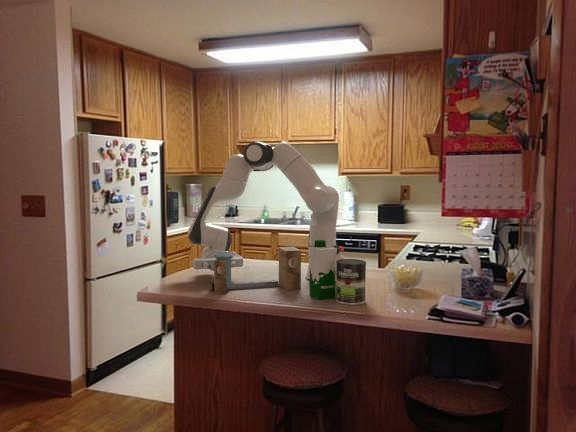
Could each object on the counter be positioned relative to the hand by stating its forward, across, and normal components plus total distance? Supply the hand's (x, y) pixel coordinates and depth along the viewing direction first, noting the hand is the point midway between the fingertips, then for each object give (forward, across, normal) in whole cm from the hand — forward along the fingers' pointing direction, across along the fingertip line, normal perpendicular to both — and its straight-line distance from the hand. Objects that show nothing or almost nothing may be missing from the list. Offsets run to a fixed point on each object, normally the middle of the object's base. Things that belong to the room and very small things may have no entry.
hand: (221, 266), depth 192 cm
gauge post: (+10, -2, +8) cm, 13 cm away
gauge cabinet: (+8, +26, +8) cm, 28 cm away
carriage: (+5, 0, +6) cm, 8 cm away
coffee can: (+35, +39, +8) cm, 54 cm away
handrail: (+5, +8, +8) cm, 13 cm away
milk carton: (+26, +32, +8) cm, 43 cm away
